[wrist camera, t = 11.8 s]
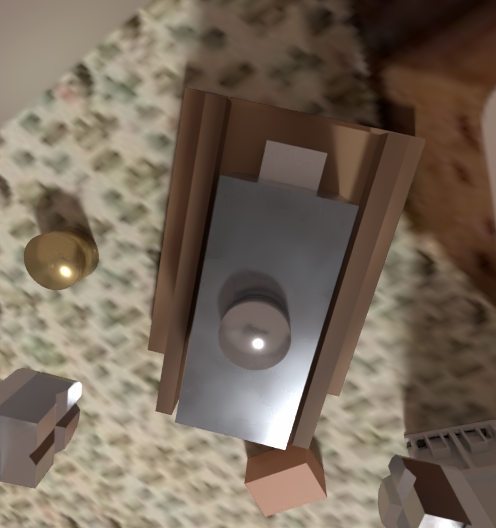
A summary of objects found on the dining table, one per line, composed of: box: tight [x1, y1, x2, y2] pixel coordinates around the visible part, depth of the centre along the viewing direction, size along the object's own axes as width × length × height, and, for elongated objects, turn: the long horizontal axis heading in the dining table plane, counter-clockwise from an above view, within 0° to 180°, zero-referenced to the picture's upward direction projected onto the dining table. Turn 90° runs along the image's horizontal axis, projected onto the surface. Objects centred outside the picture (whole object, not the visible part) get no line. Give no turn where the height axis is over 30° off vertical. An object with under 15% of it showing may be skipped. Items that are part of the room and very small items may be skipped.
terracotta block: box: [244, 443, 327, 517], centre depth 32 cm, size 6×4×3 cm, turn 118°
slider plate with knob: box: [175, 140, 359, 450], centre depth 17 cm, size 16×6×6 cm, turn 168°
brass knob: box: [24, 227, 99, 290], centre depth 28 cm, size 4×4×3 cm
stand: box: [148, 87, 426, 449], centre depth 23 cm, size 16×20×10 cm
